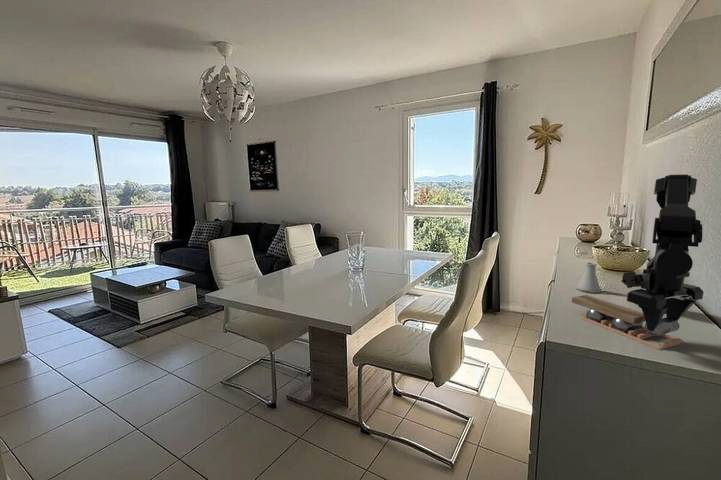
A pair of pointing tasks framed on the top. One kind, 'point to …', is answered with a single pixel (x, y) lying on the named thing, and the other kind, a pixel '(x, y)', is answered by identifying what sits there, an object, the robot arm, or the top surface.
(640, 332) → the roller track
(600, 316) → the rear roller
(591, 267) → the flask
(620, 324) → the middle roller
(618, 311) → the walnut board
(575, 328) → the top surface
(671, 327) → the roller
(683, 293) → the robot arm
